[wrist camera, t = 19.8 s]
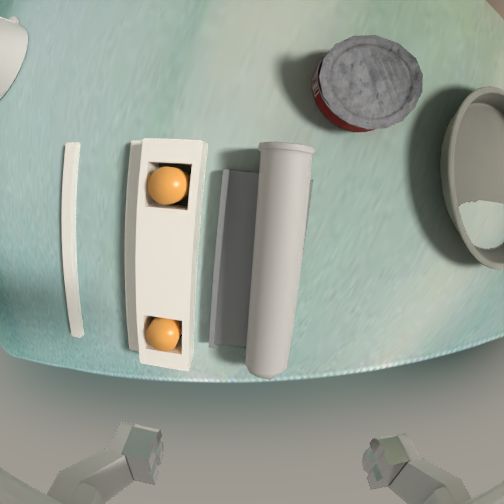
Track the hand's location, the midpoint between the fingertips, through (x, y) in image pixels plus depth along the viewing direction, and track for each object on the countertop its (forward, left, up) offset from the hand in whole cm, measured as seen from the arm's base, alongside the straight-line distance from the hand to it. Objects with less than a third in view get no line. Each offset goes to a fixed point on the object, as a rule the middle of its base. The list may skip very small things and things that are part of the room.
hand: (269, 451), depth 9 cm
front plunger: (-10, +8, -24) cm, 27 cm away
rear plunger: (-10, -8, -24) cm, 27 cm away
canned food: (+8, +21, -24) cm, 33 cm away
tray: (0, 0, -24) cm, 24 cm away
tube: (-1, 0, -21) cm, 21 cm away
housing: (-15, 0, -24) cm, 29 cm away
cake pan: (+31, +16, -25) cm, 43 cm away
